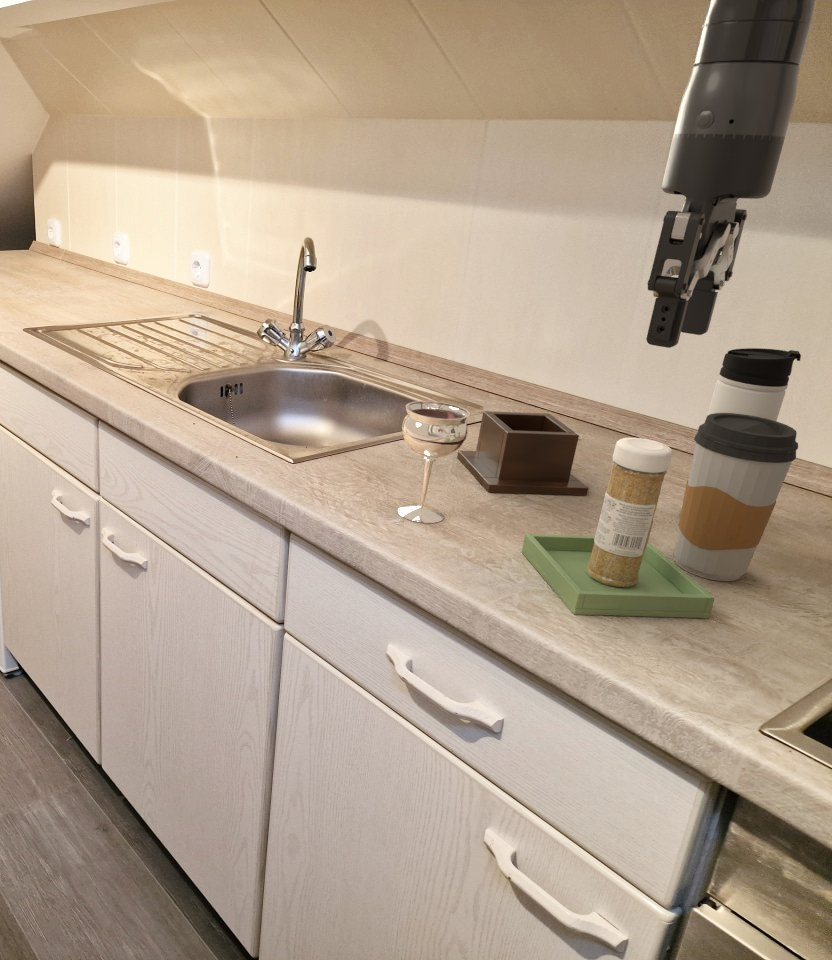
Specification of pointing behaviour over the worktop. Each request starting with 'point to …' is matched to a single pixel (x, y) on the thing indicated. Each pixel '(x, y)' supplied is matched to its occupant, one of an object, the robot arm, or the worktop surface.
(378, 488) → the worktop surface
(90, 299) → the worktop surface
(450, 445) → the wineglass
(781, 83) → the robot arm
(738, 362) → the travel mug
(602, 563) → the sprinkles bottle
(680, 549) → the coffee cup
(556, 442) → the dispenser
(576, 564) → the tray
